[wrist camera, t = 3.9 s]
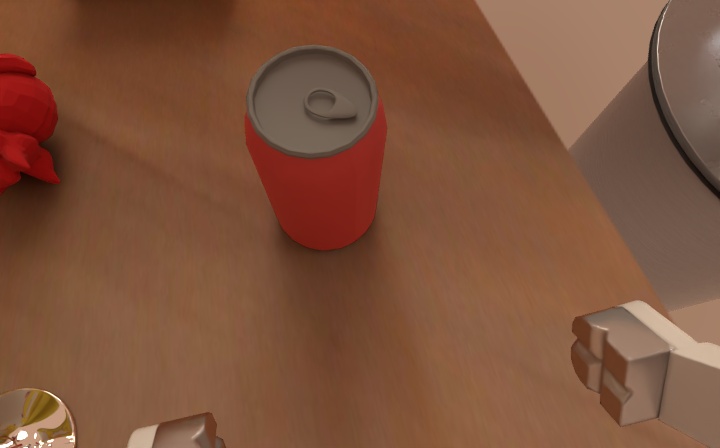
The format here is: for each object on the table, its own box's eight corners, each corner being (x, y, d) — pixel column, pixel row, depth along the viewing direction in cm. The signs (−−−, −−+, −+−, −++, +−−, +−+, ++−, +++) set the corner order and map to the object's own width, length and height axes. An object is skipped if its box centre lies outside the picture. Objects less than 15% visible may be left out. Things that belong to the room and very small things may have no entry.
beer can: (357, 267, 30) (361, 189, 18) (260, 234, 30) (206, 139, 19) (389, 177, 32) (410, 57, 20) (297, 148, 32) (269, 16, 21)
